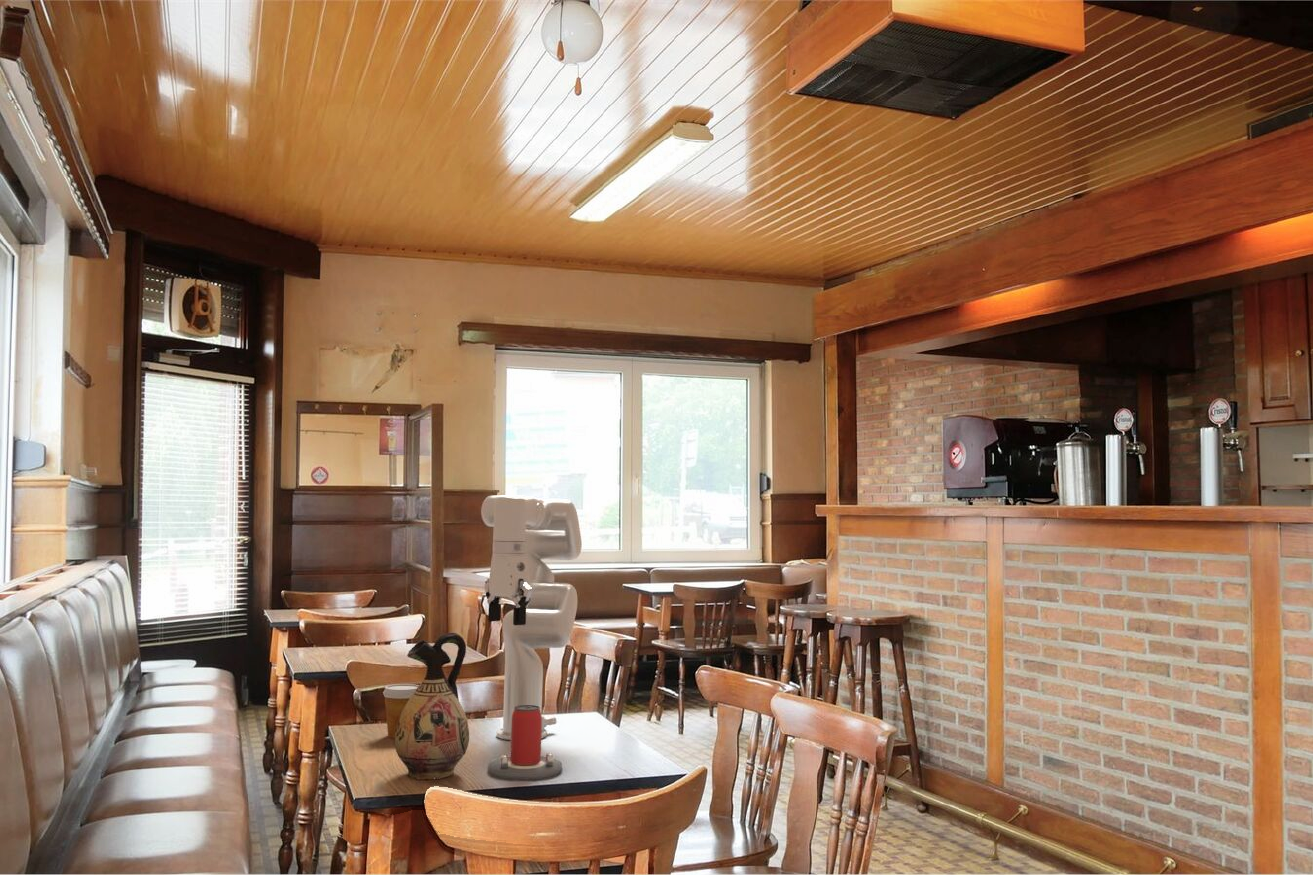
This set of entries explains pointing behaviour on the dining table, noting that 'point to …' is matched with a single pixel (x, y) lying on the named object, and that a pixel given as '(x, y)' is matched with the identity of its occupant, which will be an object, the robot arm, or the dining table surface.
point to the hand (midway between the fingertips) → (506, 622)
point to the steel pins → (505, 761)
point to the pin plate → (525, 770)
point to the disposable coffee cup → (396, 704)
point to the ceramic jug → (434, 715)
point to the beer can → (526, 735)
